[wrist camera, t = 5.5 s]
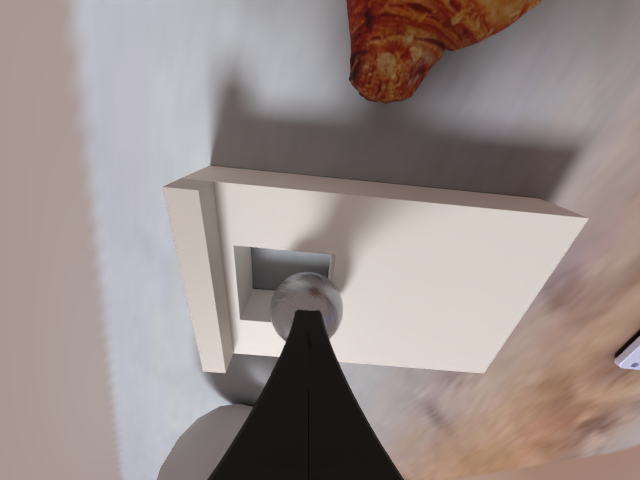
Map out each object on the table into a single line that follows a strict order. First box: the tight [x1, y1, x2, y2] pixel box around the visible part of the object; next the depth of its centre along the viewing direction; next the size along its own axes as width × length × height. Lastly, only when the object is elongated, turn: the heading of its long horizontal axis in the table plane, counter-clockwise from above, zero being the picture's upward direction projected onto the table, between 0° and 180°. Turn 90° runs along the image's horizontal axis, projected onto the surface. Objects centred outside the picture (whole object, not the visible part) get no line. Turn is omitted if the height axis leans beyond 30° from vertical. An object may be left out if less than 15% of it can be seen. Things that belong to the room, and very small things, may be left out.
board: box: [162, 166, 589, 373], centre depth 12 cm, size 16×10×4 cm, turn 85°
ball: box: [270, 272, 343, 342], centre depth 10 cm, size 3×3×3 cm
